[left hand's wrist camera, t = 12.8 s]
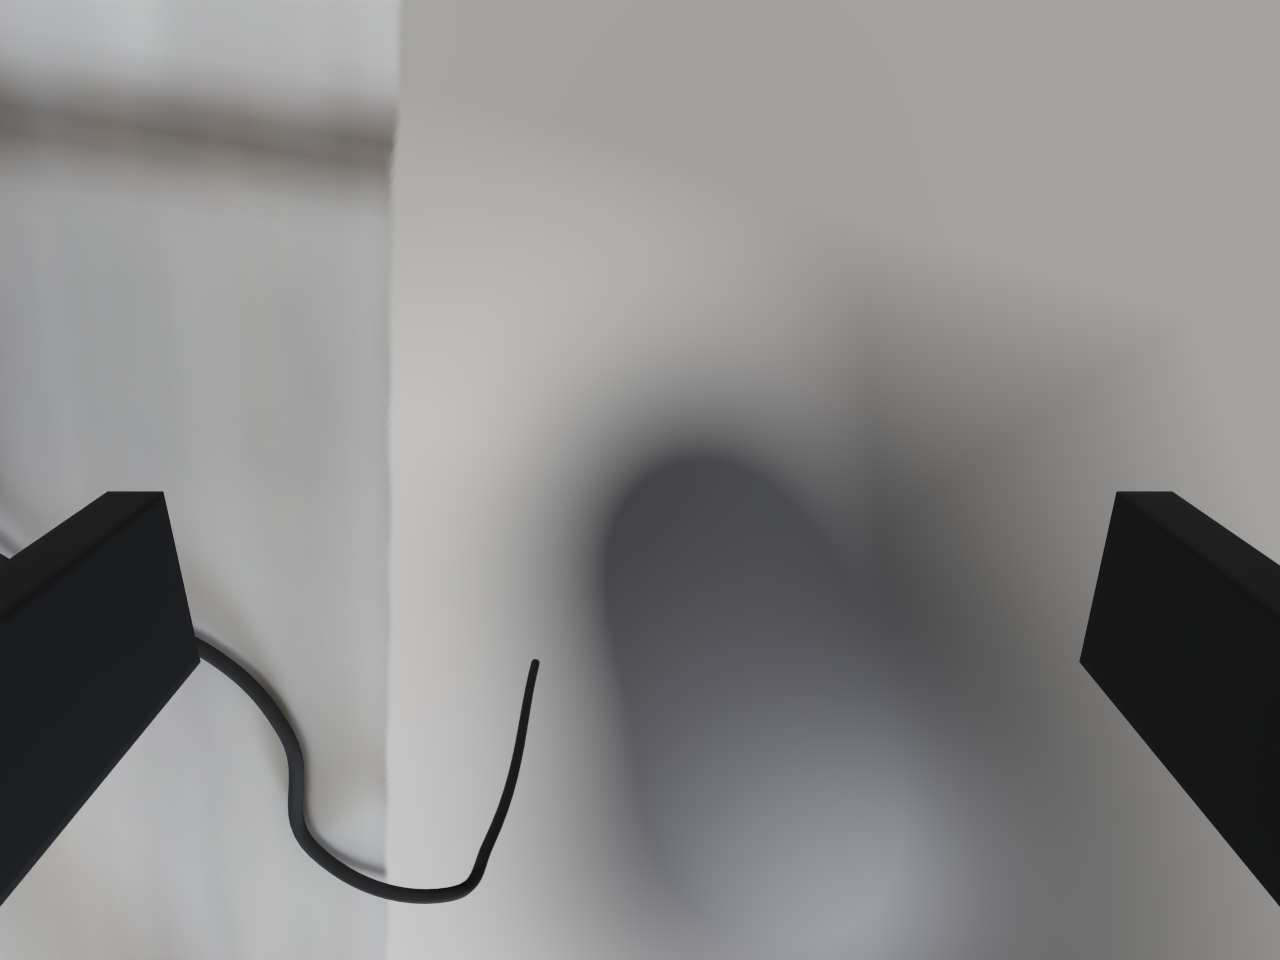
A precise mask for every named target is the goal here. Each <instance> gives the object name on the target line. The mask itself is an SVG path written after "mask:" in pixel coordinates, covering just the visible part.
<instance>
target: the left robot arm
mask: <svg viewBox="0 0 1280 960" xmlns="http://www.w3.org/2000/svg"><path fill="white" fill-rule="evenodd" d="M200 657H201V658H202V659H204V660H205V661H207V662H208V663H210V664H211V665H213V666H214V667H216V668H217V669H219V670H220V671H221V672H223V673H224V674H225V675H227V676H228V677H229V678H230V679H232V680H233V681H234V682H235V683H236V684H237V685H238V686H240V687H241V688H242V689H243V690H244V691H245V692H246V693H247V694H248V695H249V696H250V697H251V699H252V700H253V701H254V702H255V703H256V704H257V706H258V707H259V708H260V709H261V711H262V712H263V713H264V715H265V716H266V718H267V719H268V720H269V722H270V723H271V725H272V726H273V728H274V730H275V731H276V733H277V734H278V736H279V738H280V740H281V742H282V744H283V746H284V748H285V752H286V755H287V759H288V766H289V791H288V815H289V821H290V826H291V828H292V831H293V833H294V836H295V838H296V840H297V841H298V843H299V844H300V846H301V847H302V848H303V850H304V851H305V852H306V853H307V854H308V855H309V856H310V857H311V858H312V859H313V860H315V861H316V862H317V863H318V864H319V865H320V866H322V867H323V868H324V869H326V870H327V871H328V872H330V873H331V874H333V875H334V876H336V877H337V878H339V879H340V880H342V881H344V882H345V883H347V884H349V885H351V886H353V887H355V888H357V889H359V890H361V891H364V892H366V893H369V894H372V895H374V896H378V897H381V898H385V899H389V900H394V901H399V902H406V903H419V904H430V903H442V902H449V901H454V900H457V899H460V898H463V897H465V896H466V895H468V894H470V893H471V892H472V891H473V890H474V889H475V888H476V887H477V886H478V884H479V883H480V881H481V879H482V877H483V875H484V872H485V869H486V866H487V863H488V860H489V857H490V854H491V852H492V849H493V847H494V845H495V842H496V840H497V838H498V835H499V833H500V831H501V829H502V826H503V823H504V821H505V818H506V815H507V812H508V810H509V807H510V803H511V800H512V797H513V794H514V790H515V787H516V783H517V779H518V775H519V771H520V766H521V762H522V756H523V751H524V746H525V740H526V734H527V728H528V722H529V716H530V710H531V704H532V698H533V693H534V687H535V682H536V677H537V673H538V669H539V665H540V662H539V660H537V659H533V660H532V661H531V665H530V669H529V673H528V678H527V682H526V687H525V692H524V697H523V702H522V708H521V713H520V719H519V725H518V730H517V736H516V741H515V746H514V751H513V755H512V760H511V764H510V768H509V773H508V776H507V780H506V783H505V787H504V790H503V793H502V796H501V799H500V802H499V805H498V808H497V810H496V813H495V815H494V818H493V820H492V823H491V825H490V827H489V830H488V832H487V834H486V836H485V838H484V841H483V843H482V845H481V847H480V850H479V852H478V855H477V858H476V861H475V864H474V867H473V869H472V871H471V873H470V875H469V877H468V878H467V879H466V880H465V881H464V882H462V883H461V884H458V885H456V886H452V887H448V888H440V889H412V888H404V887H398V886H394V885H390V884H386V883H383V882H380V881H377V880H374V879H372V878H369V877H367V876H365V875H363V874H360V873H358V872H357V871H355V870H353V869H351V868H349V867H348V866H346V865H345V864H343V863H342V862H340V861H339V860H337V859H336V858H335V857H333V856H332V855H331V854H330V853H328V852H327V851H326V850H325V849H324V848H323V847H321V846H320V845H319V844H318V843H317V841H316V840H315V839H314V838H313V837H312V836H311V834H310V833H309V831H308V829H307V827H306V824H305V821H304V815H303V787H304V764H303V757H302V752H301V749H300V746H299V742H298V740H297V738H296V736H295V734H294V732H293V730H292V728H291V727H290V725H289V723H288V722H287V720H286V718H285V717H284V715H283V714H282V712H281V711H280V709H279V708H278V706H277V705H276V703H275V702H274V701H273V699H272V698H271V697H270V696H269V694H268V693H267V692H266V691H265V690H264V688H263V687H262V686H261V685H260V684H259V683H258V682H257V681H256V680H255V679H254V678H253V677H252V676H251V675H250V674H249V673H248V672H246V671H245V670H244V669H243V668H242V667H241V666H239V665H238V664H237V663H236V662H234V661H233V660H232V659H230V658H229V657H228V656H226V655H225V654H223V653H222V652H220V651H219V650H217V649H216V648H214V647H213V646H211V645H210V644H208V643H206V642H204V641H203V640H201V639H199V638H197V637H196V636H195V634H194V630H193V625H192V620H191V616H190V611H189V607H188V602H187V597H186V593H185V588H184V584H183V579H182V575H181V570H180V565H179V561H178V556H177V552H176V547H175V543H174V538H173V533H172V529H171V524H170V520H169V515H168V510H167V506H166V501H165V497H164V492H106V493H105V494H103V495H102V496H100V497H99V498H98V499H96V500H95V501H93V502H92V503H90V504H89V505H87V506H86V507H84V508H83V509H82V510H80V511H79V512H77V513H76V514H74V515H73V516H71V517H70V518H68V519H67V520H66V521H64V522H63V523H61V524H60V525H58V526H57V527H55V528H54V529H52V530H51V531H50V532H48V533H47V534H45V535H44V536H42V537H41V538H39V539H38V540H36V541H35V542H34V543H32V544H31V545H29V546H28V547H26V548H25V549H23V550H22V551H21V552H19V553H18V554H16V555H15V556H13V557H12V558H10V559H8V558H7V557H5V556H4V555H2V554H0V906H1V905H2V904H3V902H4V901H5V900H6V899H7V898H8V896H9V895H10V894H11V893H12V892H13V890H14V889H15V888H16V887H17V885H18V884H19V883H20V882H21V881H22V879H23V878H24V877H25V876H26V874H27V873H28V872H29V871H30V870H31V868H32V867H33V866H34V865H35V863H36V862H37V861H38V860H39V859H40V857H41V856H42V855H43V854H44V852H45V851H46V850H47V849H48V848H49V846H50V845H51V844H52V843H53V841H54V840H55V839H56V838H57V837H58V835H59V834H60V833H61V832H62V830H63V829H64V828H65V827H66V826H67V824H68V823H69V822H70V821H71V819H72V818H73V817H74V816H75V815H76V813H77V812H78V811H79V810H80V808H81V807H82V806H83V805H84V804H85V802H86V801H87V800H88V799H89V797H90V796H91V795H92V794H93V793H94V791H95V790H96V789H97V788H98V787H99V785H100V784H101V783H102V782H103V780H104V779H105V778H106V777H107V776H108V774H109V773H110V772H111V771H112V769H113V768H114V767H115V766H116V765H117V763H118V762H119V761H120V760H121V758H122V757H123V756H124V755H125V754H126V752H127V751H128V750H129V749H130V747H131V746H132V745H133V744H134V743H135V741H136V740H137V739H138V738H139V736H140V735H141V734H142V733H143V732H144V730H145V729H146V728H147V727H148V725H149V724H150V723H151V722H152V721H153V719H154V718H155V717H156V716H157V714H158V713H159V712H160V711H161V710H162V708H163V707H164V706H165V705H166V703H167V702H168V701H169V700H170V699H171V697H172V696H173V695H174V694H175V693H176V691H177V690H178V689H179V688H180V686H181V685H182V684H183V683H184V682H185V680H186V679H187V678H188V677H189V675H190V674H191V673H192V672H193V671H194V669H195V668H196V667H197V666H198V664H199V663H200ZM1080 663H1081V664H1082V666H1083V667H1084V668H1085V669H1086V670H1087V672H1088V673H1089V674H1090V675H1091V677H1092V678H1093V679H1094V680H1095V682H1096V683H1097V684H1098V685H1099V686H1100V688H1101V689H1102V690H1103V691H1104V692H1105V694H1106V695H1107V696H1108V697H1109V699H1110V700H1111V701H1112V702H1113V703H1114V705H1115V706H1116V707H1117V708H1118V710H1119V711H1120V712H1121V713H1122V714H1123V716H1124V717H1125V718H1126V719H1127V721H1128V722H1129V723H1130V724H1131V725H1132V727H1133V728H1134V729H1135V730H1136V732H1137V733H1138V734H1139V735H1140V736H1141V738H1142V739H1143V740H1144V741H1145V743H1146V744H1147V745H1148V746H1149V747H1150V749H1151V750H1152V751H1153V752H1154V754H1155V755H1156V756H1157V757H1158V758H1159V760H1160V761H1161V762H1162V763H1163V765H1164V766H1165V767H1166V768H1167V769H1168V771H1169V772H1170V773H1171V774H1172V775H1173V777H1174V778H1175V779H1176V780H1177V782H1178V783H1179V784H1180V785H1181V786H1182V788H1183V789H1184V790H1185V791H1186V793H1187V794H1188V795H1189V796H1190V797H1191V799H1192V800H1193V801H1194V802H1195V804H1196V805H1197V806H1198V807H1199V808H1200V810H1201V811H1202V812H1203V813H1204V815H1205V816H1206V817H1207V818H1208V819H1209V821H1210V822H1211V823H1212V824H1213V826H1214V827H1215V828H1216V829H1217V830H1218V832H1219V833H1220V834H1221V835H1222V837H1223V838H1224V839H1225V840H1226V841H1227V843H1228V844H1229V845H1230V846H1231V848H1232V849H1233V850H1234V851H1235V852H1236V854H1237V855H1238V856H1239V857H1240V859H1241V860H1242V861H1243V862H1244V863H1245V865H1246V866H1247V867H1248V868H1249V870H1250V871H1251V872H1252V873H1253V874H1254V876H1255V877H1256V878H1257V879H1258V880H1259V882H1260V883H1261V884H1262V885H1263V887H1264V888H1265V889H1266V890H1267V892H1268V893H1269V894H1270V895H1271V896H1272V898H1273V899H1274V900H1275V901H1276V902H1277V904H1278V905H1279V906H1280V565H1278V564H1277V563H1275V562H1274V561H1273V560H1271V559H1270V558H1268V557H1267V556H1265V555H1264V554H1262V553H1261V552H1259V551H1258V550H1257V549H1255V548H1254V547H1252V546H1251V545H1249V544H1248V543H1246V542H1245V541H1243V540H1242V539H1241V538H1239V537H1238V536H1236V535H1235V534H1233V533H1232V532H1230V531H1229V530H1228V529H1226V528H1225V527H1223V526H1222V525H1220V524H1219V523H1217V522H1216V521H1214V520H1213V519H1212V518H1210V517H1209V516H1207V515H1206V514H1204V513H1203V512H1201V511H1200V510H1198V509H1197V508H1196V507H1194V506H1193V505H1191V504H1190V503H1188V502H1187V501H1185V500H1184V499H1182V498H1181V497H1180V496H1178V495H1177V494H1175V493H1174V492H1116V497H1115V501H1114V506H1113V511H1112V515H1111V520H1110V524H1109V529H1108V533H1107V538H1106V543H1105V547H1104V552H1103V556H1102V561H1101V565H1100V570H1099V575H1098V579H1097V584H1096V588H1095V593H1094V597H1093V602H1092V607H1091V611H1090V616H1089V621H1088V625H1087V630H1086V634H1085V639H1084V643H1083V648H1082V653H1081V657H1080Z"/></svg>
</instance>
